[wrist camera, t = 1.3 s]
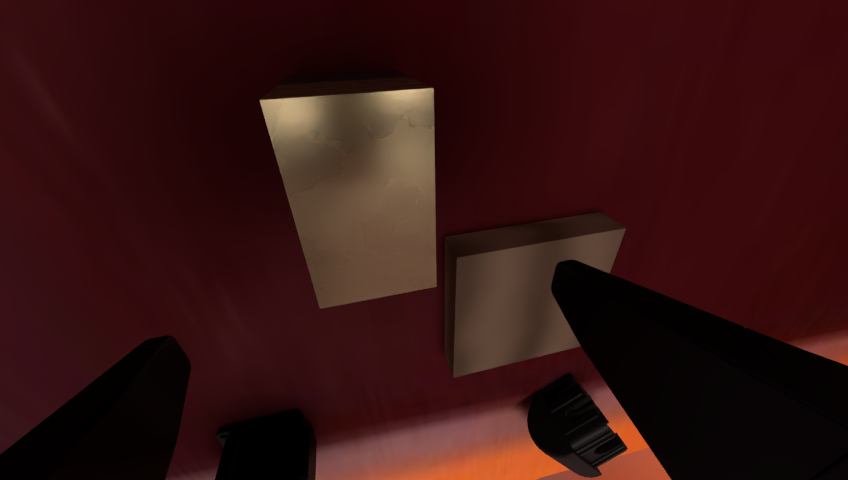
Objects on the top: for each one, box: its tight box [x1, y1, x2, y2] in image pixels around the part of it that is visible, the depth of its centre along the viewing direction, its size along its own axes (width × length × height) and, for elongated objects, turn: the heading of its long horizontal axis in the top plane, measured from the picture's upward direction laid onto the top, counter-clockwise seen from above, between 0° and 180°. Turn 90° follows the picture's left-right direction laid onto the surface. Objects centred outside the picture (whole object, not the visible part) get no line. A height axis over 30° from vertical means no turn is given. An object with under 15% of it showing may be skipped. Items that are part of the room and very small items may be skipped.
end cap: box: [527, 374, 628, 478], centre depth 35 cm, size 10×7×7 cm
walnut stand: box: [444, 212, 626, 378], centre depth 25 cm, size 12×12×2 cm
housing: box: [260, 70, 436, 309], centre depth 14 cm, size 5×8×7 cm, turn 2°
